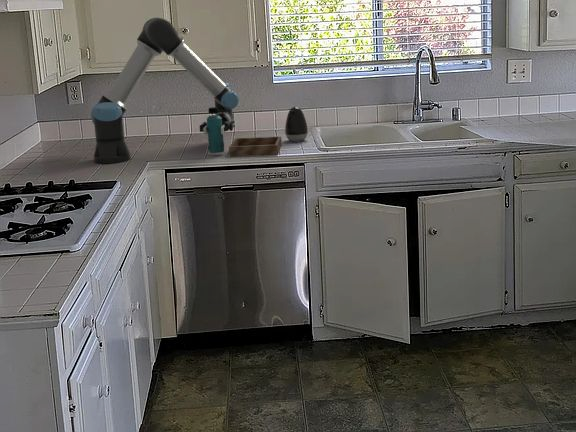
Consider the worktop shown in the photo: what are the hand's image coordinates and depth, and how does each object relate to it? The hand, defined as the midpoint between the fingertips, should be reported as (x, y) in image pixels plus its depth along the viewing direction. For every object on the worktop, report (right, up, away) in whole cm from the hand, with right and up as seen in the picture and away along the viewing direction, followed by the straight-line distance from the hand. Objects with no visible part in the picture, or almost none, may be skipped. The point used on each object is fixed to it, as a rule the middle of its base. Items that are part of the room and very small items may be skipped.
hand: (213, 131), depth 353 cm
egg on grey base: (+35, -2, +30) cm, 46 cm away
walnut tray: (+17, -7, +12) cm, 22 cm away
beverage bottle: (+1, -9, +8) cm, 12 cm away
